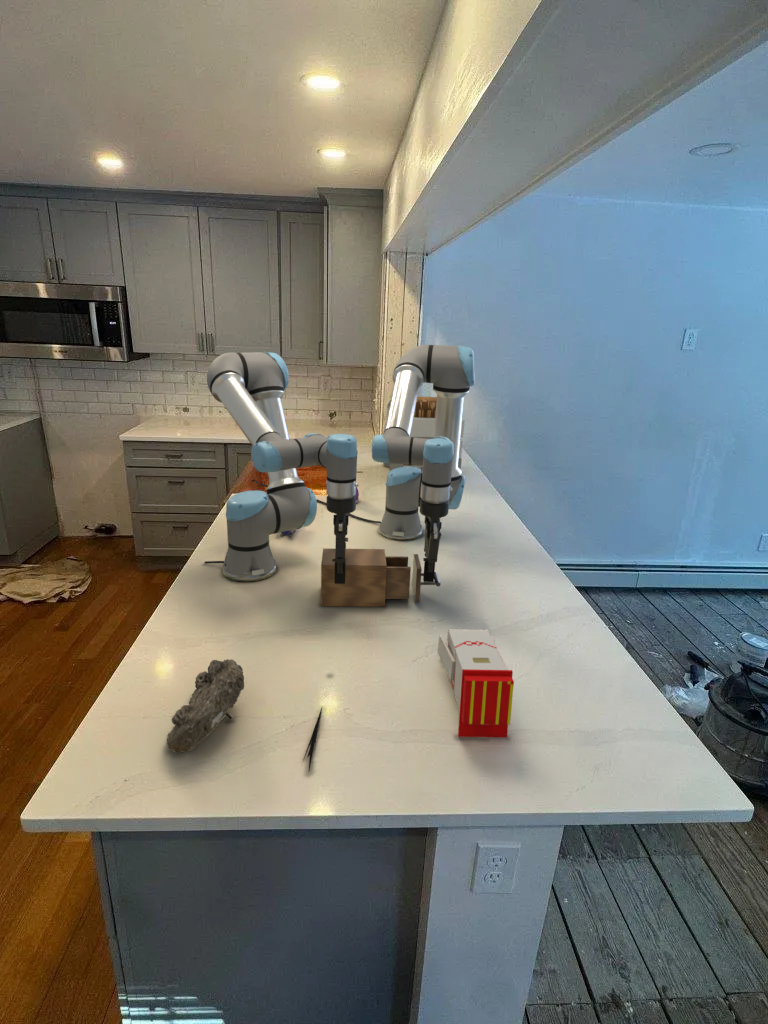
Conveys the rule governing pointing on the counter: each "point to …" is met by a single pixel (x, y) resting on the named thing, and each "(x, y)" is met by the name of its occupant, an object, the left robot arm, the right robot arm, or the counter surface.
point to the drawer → (404, 578)
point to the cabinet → (355, 578)
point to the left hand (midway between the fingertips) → (340, 573)
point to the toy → (478, 682)
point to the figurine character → (288, 532)
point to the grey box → (425, 424)
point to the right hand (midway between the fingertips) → (428, 580)
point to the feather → (313, 740)
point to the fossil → (206, 705)
